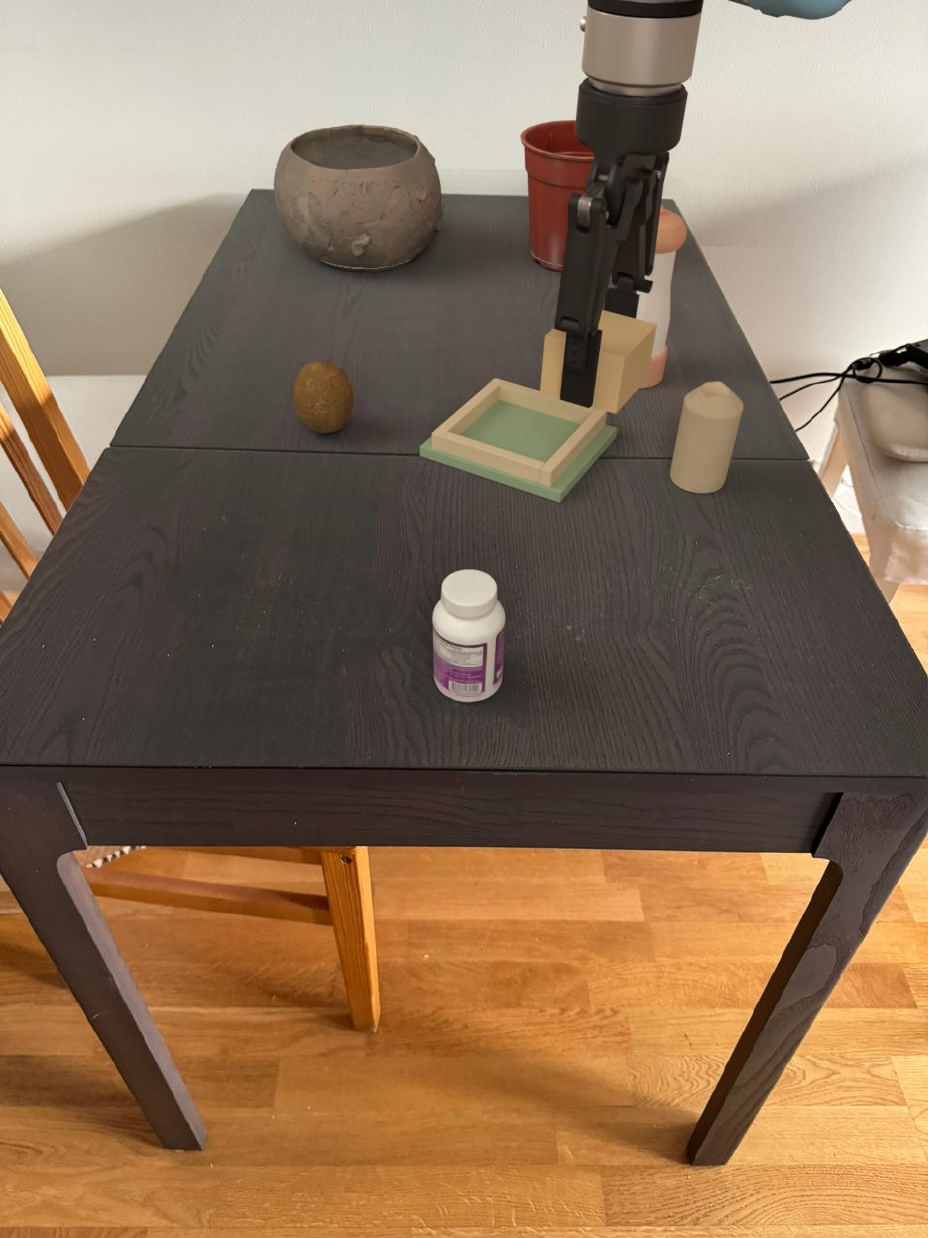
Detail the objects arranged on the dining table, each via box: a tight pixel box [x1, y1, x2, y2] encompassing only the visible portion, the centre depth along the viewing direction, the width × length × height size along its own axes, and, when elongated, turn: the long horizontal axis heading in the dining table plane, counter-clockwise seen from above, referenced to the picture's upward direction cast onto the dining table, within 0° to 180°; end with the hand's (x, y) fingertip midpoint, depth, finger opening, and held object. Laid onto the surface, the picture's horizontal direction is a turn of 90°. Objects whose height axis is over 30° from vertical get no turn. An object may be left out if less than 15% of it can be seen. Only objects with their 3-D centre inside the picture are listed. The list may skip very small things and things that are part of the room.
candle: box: [669, 381, 744, 494], centre depth 90 cm, size 6×6×10 cm
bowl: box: [273, 123, 446, 273], centre depth 129 cm, size 23×23×15 cm
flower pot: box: [519, 119, 611, 273], centre depth 129 cm, size 16×16×16 cm
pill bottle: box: [431, 568, 507, 703], centre depth 69 cm, size 5×5×10 cm
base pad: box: [419, 377, 619, 503], centre depth 96 cm, size 16×14×3 cm
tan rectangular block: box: [539, 309, 657, 415], centre depth 78 cm, size 7×7×5 cm
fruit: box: [292, 360, 355, 435], centre depth 96 cm, size 6×6×8 cm
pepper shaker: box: [636, 204, 688, 389], centre depth 103 cm, size 7×7×19 cm
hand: (595, 381), depth 79 cm, fingers closed on tan rectangular block, 7 cm apart
